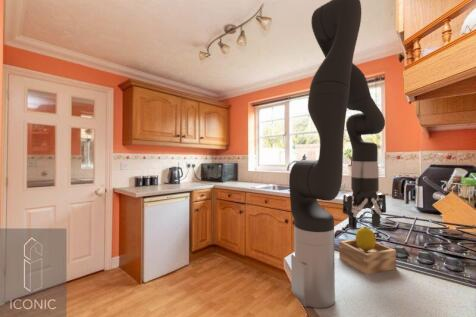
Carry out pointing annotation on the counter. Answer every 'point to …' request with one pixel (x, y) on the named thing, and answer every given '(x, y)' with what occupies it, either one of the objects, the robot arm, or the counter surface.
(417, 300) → the counter surface
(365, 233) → the lemon
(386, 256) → the oak box
